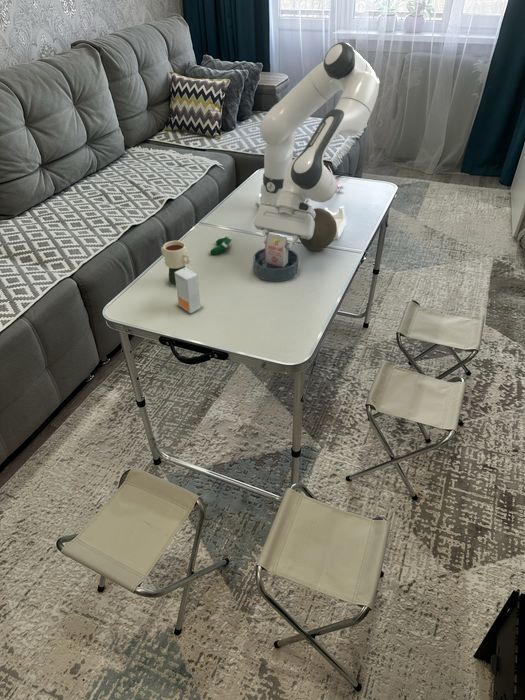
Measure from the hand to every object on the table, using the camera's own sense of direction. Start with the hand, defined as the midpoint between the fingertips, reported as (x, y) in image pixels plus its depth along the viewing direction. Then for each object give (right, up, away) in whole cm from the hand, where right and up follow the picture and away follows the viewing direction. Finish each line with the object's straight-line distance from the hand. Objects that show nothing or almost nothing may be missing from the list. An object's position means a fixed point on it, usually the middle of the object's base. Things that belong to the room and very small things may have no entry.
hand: (277, 246), depth 166 cm
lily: (+26, +37, +59) cm, 74 cm away
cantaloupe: (+14, +2, +17) cm, 22 cm away
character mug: (-32, -12, 0) cm, 34 cm away
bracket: (+21, +11, +28) cm, 37 cm away
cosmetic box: (-27, -21, -11) cm, 36 cm away
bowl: (0, -7, +5) cm, 9 cm away
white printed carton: (0, -5, +4) cm, 6 cm away
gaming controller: (-20, +2, +17) cm, 26 cm away
